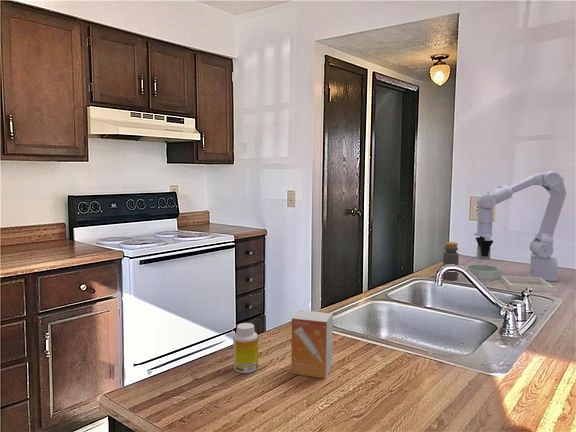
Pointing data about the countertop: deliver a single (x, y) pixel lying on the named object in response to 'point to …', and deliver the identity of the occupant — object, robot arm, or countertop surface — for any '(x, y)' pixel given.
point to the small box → (312, 343)
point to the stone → (481, 255)
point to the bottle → (451, 260)
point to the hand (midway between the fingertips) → (483, 255)
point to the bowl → (484, 271)
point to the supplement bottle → (245, 348)
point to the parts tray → (545, 287)
